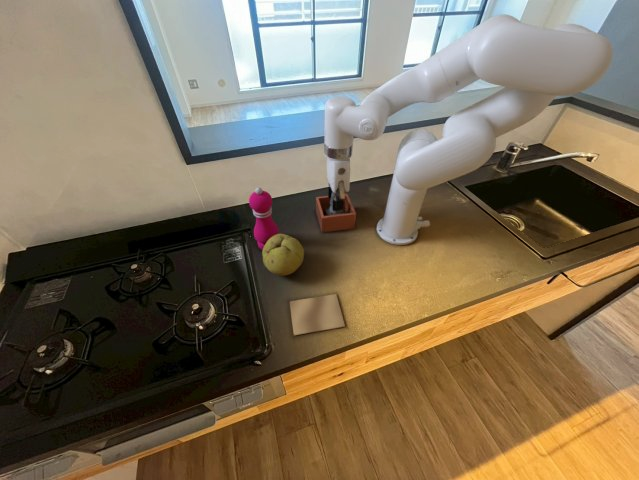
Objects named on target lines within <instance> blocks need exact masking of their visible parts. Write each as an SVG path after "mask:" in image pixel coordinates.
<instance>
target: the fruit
mask: <svg viewBox="0 0 639 480" xmlns="http://www.w3.org/2000/svg"><path fill="white" fill-rule="evenodd" d="M261 254H262V262H263V266H264V267H265V268H266V269H267V270H268V271H269V272H270V273H271V274H273V275H276V276H280V277H285V276H288V275H291V274H293V273H295V272H296V271H297V270H298V269H299V267H300V266H301V265H302V264H303V261H304V256H305V250H304V248H303V246H302V244H301V243H300V241H299V240H298V239H297V238H295V237H292V236H291V235H289V234H285V233H279V234H277V235H274V236H272V237H271V238H270V239H269V240H268V241H267V242H266V244H265V246H264V248H263V250H262V252H261Z"/></svg>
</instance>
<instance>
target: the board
mask: <svg viewBox="0 0 639 480" xmlns="http://www.w3.org/2000/svg"><path fill="white" fill-rule="evenodd" d="M289 308H290V316H291V325H292V332H293V337H295V336H301V335H306V334H312V333H317V332H323V331H329V330H335V329H341V328H345V327H346V325H345V321H344V320H345V319H344V317H343V313H342V309H341V306H340V302H339V298H338V295H337V293H333V294H328V295H321V296H316V297H309V298H303V299H297V300H296V299H295V300H290V301H289Z"/></svg>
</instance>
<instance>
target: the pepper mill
mask: <svg viewBox="0 0 639 480" xmlns="http://www.w3.org/2000/svg"><path fill="white" fill-rule="evenodd" d="M248 205H249V207H250V208H251V210H252V213H253V216H254V217H255V225H254V228H253V237H254V239H255V240H256V242H257V243H256V244H257V247H258V248H259V249H260V250H262V251H263V248H264V246H265V244H266V242H267V241H268V240H269V239H270V238H271V237H272V236H274V235H277V234H280V230H279V227H278V224H277V223H276V222H275V221H274V220H273V217H272V213H273V209H272V206H273V198H272V195H271V194H270V193H269V192H268V191H266V190H263V188H262V187H259V186H258V187H256V188H255V190H254V191H253V192H252V193H251V194H250V196H249V198H248Z"/></svg>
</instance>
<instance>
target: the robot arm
mask: <svg viewBox="0 0 639 480" xmlns="http://www.w3.org/2000/svg"><path fill="white" fill-rule="evenodd" d="M613 55H614V52H613V47H612V44H611V42H610V40H609V39H608V38H607V37H605V36H604V35H602V34H600V33H599V32H595V31H594V30H591V29H589V28H588V27H585V26H582V25H580V24H575V23H565V24H561V25H558V26H556V27H553V28H547V27H542V26H537V25H532V24H529V23H525V22H522V21H521V20H519V19H518V18H517V17H515V16H512V15H510V14H503V13H502V14H497V15H495V16H491V17H489V18H487V19H486V20H484V21H483V22H481V23H479V24H478V25H476V26H475V27H473V28H472V29H471V30H469V31H467V32H466V33H464V34H463V35H461V36H460V37H458V38H457V39H455V40H454V41H452V42H451V43H449V44H448V45H447V46H445V47H443V48H442V49H440V50H438V51H437V52H436V53H434V54H432V55H431V56H429V57H428V58H427V59H425V60H424V61H422V62H420V63H418V64H416V65H414V66H413V67H411V68H409V69H407V70H406V71H403V72H402V73H400V74H398V75H396V76H394V77H392V78H391V79H389V80H388V81H386V82H385V83H384V84H382V85H380V86H379V87H377V88H375V89H374V90H373V91H372V92H370V93H369V94H368V95H367V96H366V97H364V98H363V100H362V102H361V103H360V105H358V106H357V104H356V102H355V100H353V99H352V98H350V97H346V96H335V97H331V98H329V99H328V100H327V101H326V102H325V105H324V132H323V133H324V136H323V138H324V140H323V141H324V142H323V143H324V144H323V156H324V157H325V158H326V177H327V182H328V188H327V189H328V190H327V196H328V198H331V193H332V192H334V199H333V211H336V210H343V204H344V199H345V194H346V193H347V192H350V190H351V189H350V188H351V187H350V186H351V160H350V159H351V158H352V156H353V148H354V147H353V146H354V138H357V139H359V140H364V141H373V140H377V139H379V138H380V137H381V136H382V135H383V133H384V132H385V129H386V127H387V122H388V119H389V118H390V117H392V116H393V115H394V114H397V113H398V112H400V111H402V110H403V109H405V108H407V107H409V106H411V105H414V104H418V103H427V104H428V103H429V104H435V103H439V102H441V101H443V100H446V99H447V98H448V97H450V96H452V95H454V94H456V93H457V92H459V91H460V90H463V89H464V88H466V87H468V86H470V85H472V84H474V83H475V82H477V81H479V80H481V81H483V82H485V83H488V84H491V85H495V86H499V87H503V88H501V89H500V90H497V91H496V92H494V93H493V94H491V95H488V96H487V97H484V98H483V99H481V100H478V101H476V102H475V103H473V104H470V105H469V106H467V107H465V108H462V109H460V110H459V111H457V112H455V113H453V114H452V115H450V116H449V117H448V118H447V120H446V121H445V123H444V124H443V128H442V138H440V139H438V138H437V137H436V135H435V134H434V133H433V132H431V131H430V130H428V129H426V128H425V129H424V128H417V129H414V130H411V131H410V132H408V133H406V135H405V136H404V137H403V138H402V139H401V141H400V143H399V145H398V149H397V152H396V153H397V154H396V159H395V164H394V169H393V174H392V178H391V182H390V183H391V184H390V186H389V192H388V196H387V200H386V206H385V210H384V215H383V217H382V218H381V219H379V220H378V222H377V224H376V233H377V235H378V236H379V238H380V239H382V240H383V241H385V242H386V243H388V244H392V245H396V246H405V245H409V244H412V243H414V242H415V241H416V239H417V238H418V234H419V231H418V230H420V229H421V228H427V227H428V228H429V227H430V225H431V222H430V220H429V219H427V220H423V217H422V216H419V215H420V212H421V209H422V206H423V203H424V200H425V197H426V194H427V191H428V189H430V188H433V187H436V186H439V185H442V184H444V183H447V182H449V181H452V180H455V179H457V178H459V177H463V176H465V175H467V174H469V173H472V172H474V171H476V170H478V169H479V168H481V167H482V166H483V165H485V164H486V163H487V162H488V161H489V160H490V159H491V157H492V156H493V154H494V152H495V151H496V147H497V146H496V145H497V138H499V137H502V136H503V135H506V134H508V133H509V132H512V131H513V130H516V129H517V128H520V127H521V126H524V125H526V124H527V123H529V122H531V121H532V120H534V119H535V118H536V117H537V116H539V115H541V113H543V112H544V111H545V110H546V108H547V107H549V105H550V104H551V103H552V102H553V100H554V99H555V98H556V97H557V96H559V97H562V96H563V97H565V96H570V95H571V96H572V95H575V94H578V93H581V92H583V91H585V90H587V89H589V88H590V87H591V88H592V86H594V85H595V84H596V83H597V82H599V81H600V80H601V79H602V78H603V77H604V75H605V74H606V73H607V71H608V70H609V68H610V65H611V64H612V61H613ZM345 192H346V193H345ZM336 193H339V196H337V195H336Z"/></svg>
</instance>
